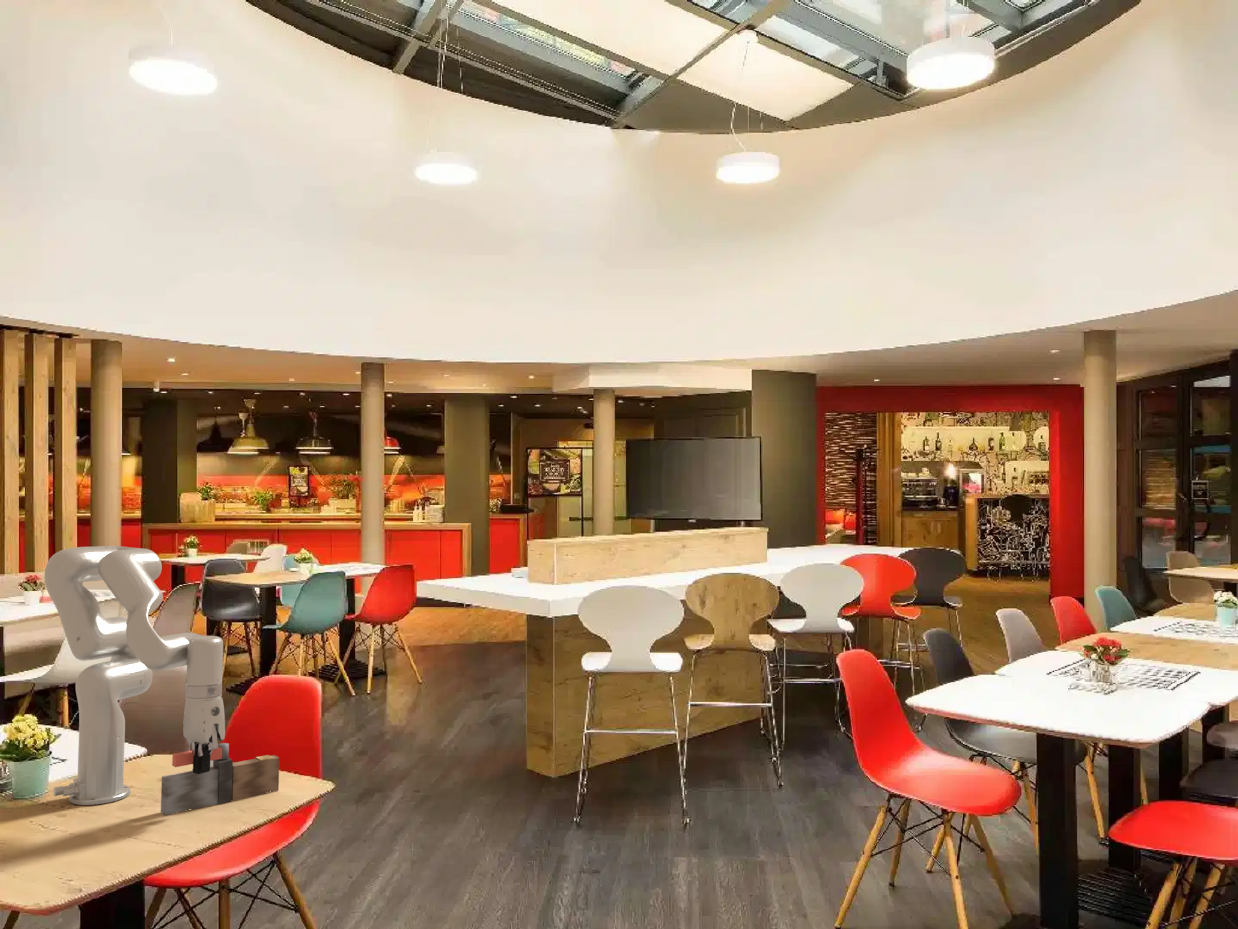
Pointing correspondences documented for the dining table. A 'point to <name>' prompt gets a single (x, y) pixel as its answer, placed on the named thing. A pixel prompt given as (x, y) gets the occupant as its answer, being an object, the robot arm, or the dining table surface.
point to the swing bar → (187, 756)
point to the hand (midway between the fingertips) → (201, 772)
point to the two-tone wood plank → (219, 784)
